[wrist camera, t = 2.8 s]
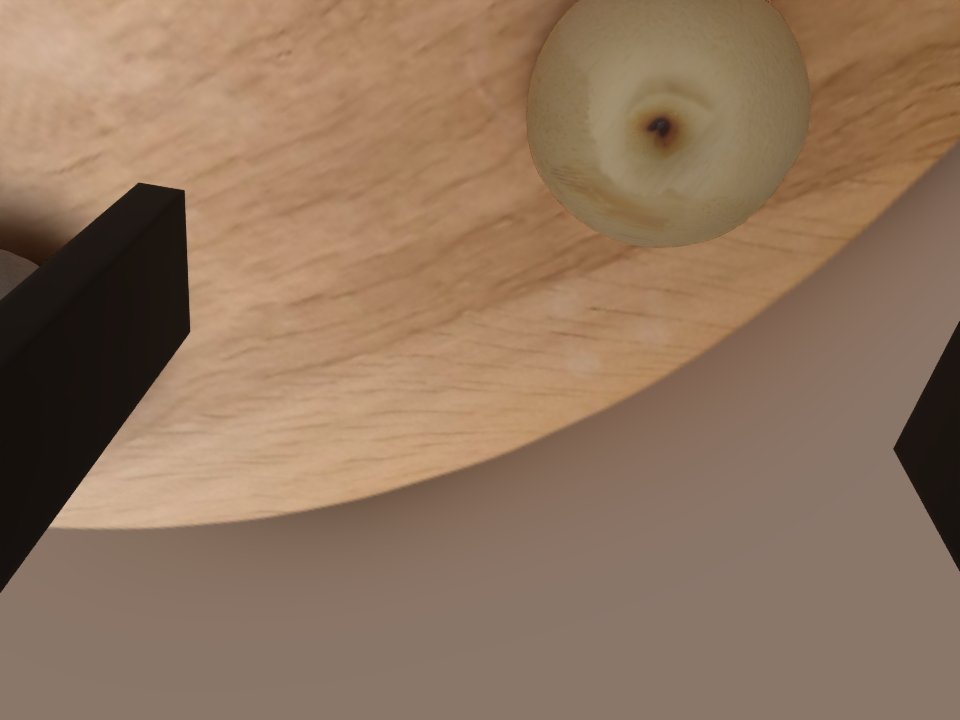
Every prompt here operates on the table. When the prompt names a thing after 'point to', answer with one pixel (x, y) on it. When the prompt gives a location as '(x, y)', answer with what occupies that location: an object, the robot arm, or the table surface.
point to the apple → (667, 115)
